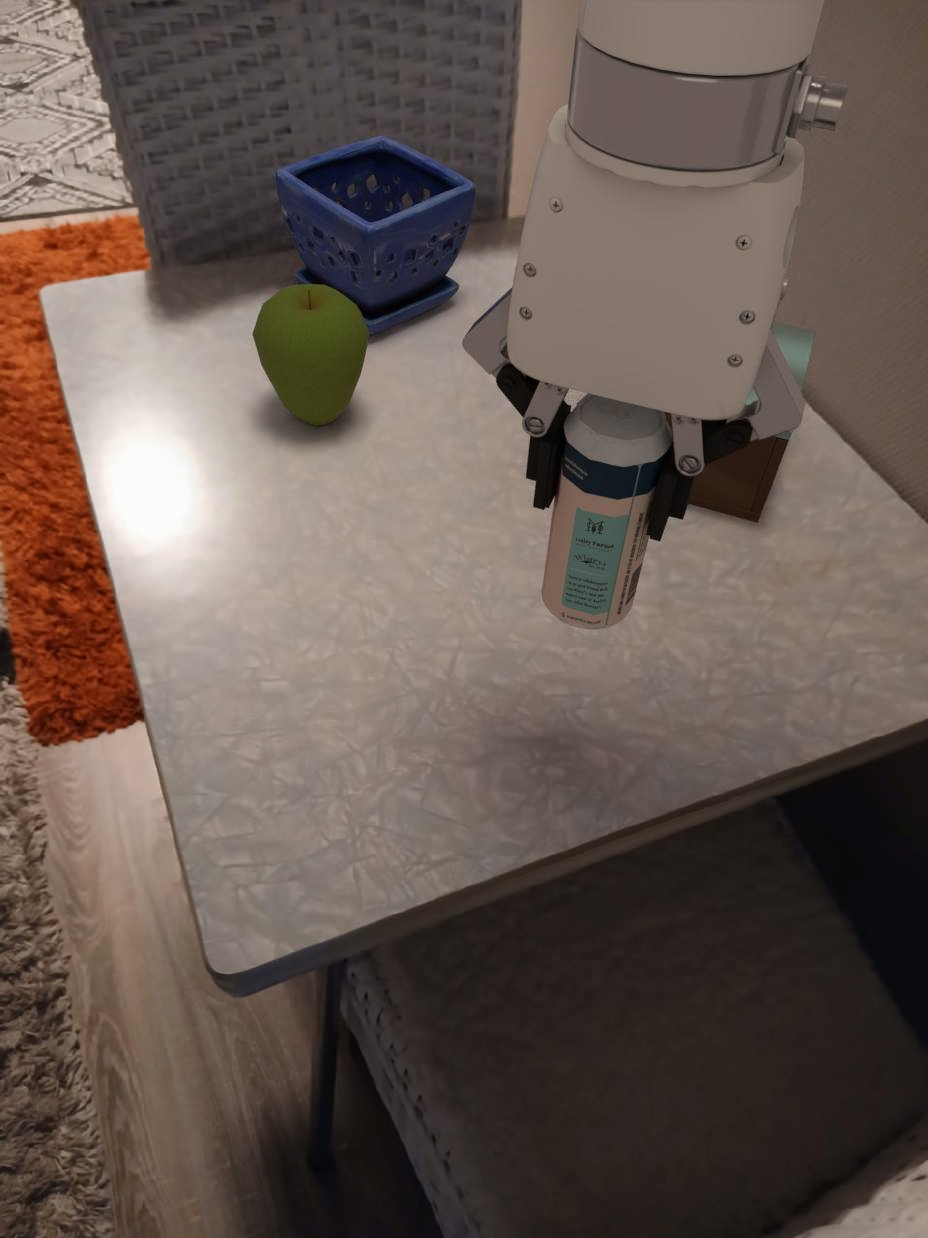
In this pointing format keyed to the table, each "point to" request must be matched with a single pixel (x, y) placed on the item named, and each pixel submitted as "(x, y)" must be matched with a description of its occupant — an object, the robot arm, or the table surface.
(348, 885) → the table surface
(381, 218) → the flower pot
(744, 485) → the chest
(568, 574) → the beer can
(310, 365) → the apple
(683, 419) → the robot arm
